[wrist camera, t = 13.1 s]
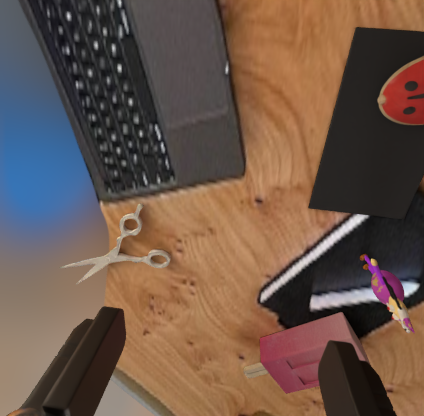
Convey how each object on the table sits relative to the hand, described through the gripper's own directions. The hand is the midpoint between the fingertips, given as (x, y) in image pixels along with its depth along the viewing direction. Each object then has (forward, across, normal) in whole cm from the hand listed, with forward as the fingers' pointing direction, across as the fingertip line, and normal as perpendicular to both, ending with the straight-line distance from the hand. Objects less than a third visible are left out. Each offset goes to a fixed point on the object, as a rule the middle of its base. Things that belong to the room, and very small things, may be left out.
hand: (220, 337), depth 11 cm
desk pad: (+26, -16, -4) cm, 31 cm away
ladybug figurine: (+26, -18, -9) cm, 33 cm away
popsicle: (+26, -14, +33) cm, 44 cm away
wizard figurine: (+26, -20, +13) cm, 36 cm away
